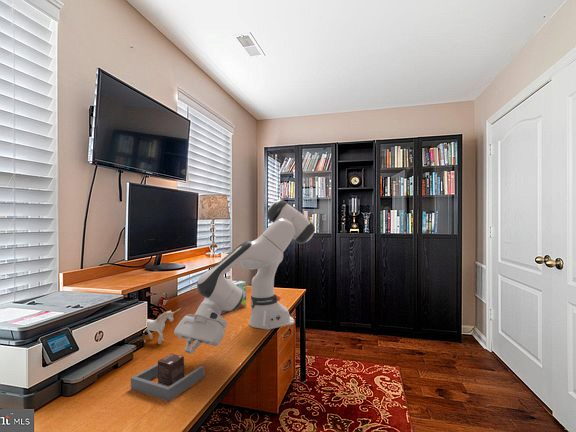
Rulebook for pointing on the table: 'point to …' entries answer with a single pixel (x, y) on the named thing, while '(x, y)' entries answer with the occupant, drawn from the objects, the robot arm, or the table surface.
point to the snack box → (243, 287)
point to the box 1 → (170, 369)
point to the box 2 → (161, 391)
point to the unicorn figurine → (159, 324)
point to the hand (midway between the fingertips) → (188, 352)
